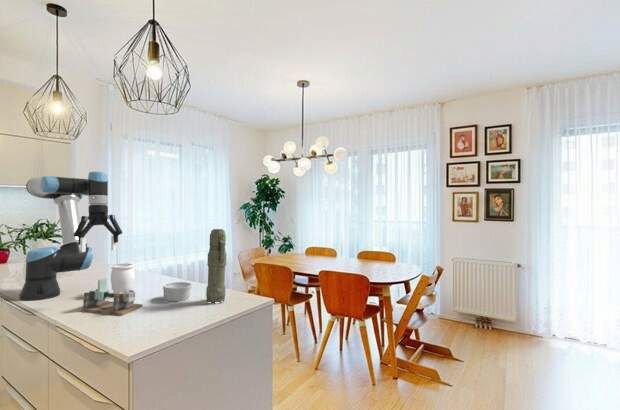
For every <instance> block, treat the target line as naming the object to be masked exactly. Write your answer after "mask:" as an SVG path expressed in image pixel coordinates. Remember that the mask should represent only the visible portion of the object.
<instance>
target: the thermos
mask: <svg viewBox="0 0 620 410" xmlns="http://www.w3.org/2000/svg"><path fill="white" fill-rule="evenodd" d="M226 237H227V235H226V231H225V230H224V229H220V228H214V229H211V231H210V234H209V244H208V245H209V250H208V253H207V286H206V291H205V292H206V293H205V294H206V295H205V297H206V301H207V302H211V303H215V302H221V301H224V300H225V301H226V299H225V298H226V285H225V284H226V283H225V281H226V280H225V275H226V266H227V250H226V244H227V243H226V239H227V238H226ZM207 302H206V303H207Z"/></svg>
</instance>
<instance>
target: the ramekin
mask: <svg viewBox="0 0 620 410" xmlns="http://www.w3.org/2000/svg"><path fill="white" fill-rule="evenodd" d="M192 286H193V285H192V283H191V282H187V281H174V282H168V283H164V284H163V285H162V289H163V299H165V301H166V302H171V303H173V302H175V303H176V302H183V301H186V299H187V300H188V299H189V298H190V296H191V289H192Z"/></svg>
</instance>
